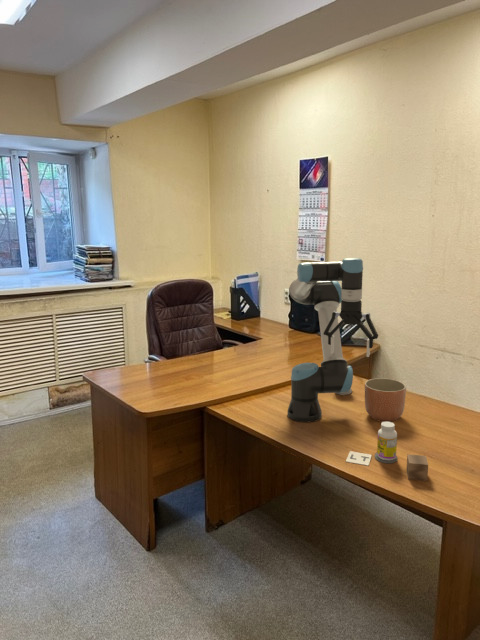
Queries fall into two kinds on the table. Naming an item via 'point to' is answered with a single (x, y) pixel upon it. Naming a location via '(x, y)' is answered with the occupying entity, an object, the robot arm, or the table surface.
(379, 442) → the supplement bottle
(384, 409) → the planter
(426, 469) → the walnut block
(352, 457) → the tile
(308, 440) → the table surface
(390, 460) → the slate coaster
